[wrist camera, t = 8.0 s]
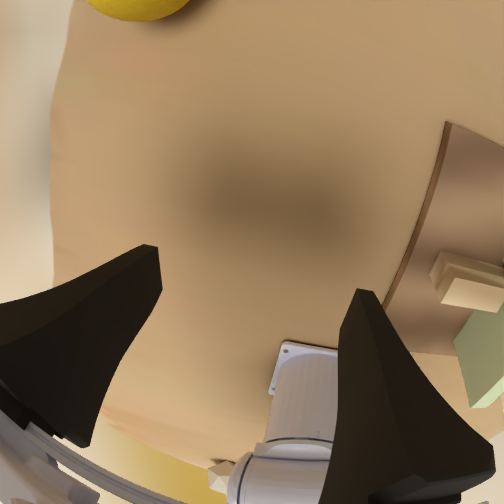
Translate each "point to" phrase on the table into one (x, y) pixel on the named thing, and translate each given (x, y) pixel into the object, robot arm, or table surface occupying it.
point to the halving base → (453, 247)
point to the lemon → (137, 8)
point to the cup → (502, 400)
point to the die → (220, 476)
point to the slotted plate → (482, 356)
